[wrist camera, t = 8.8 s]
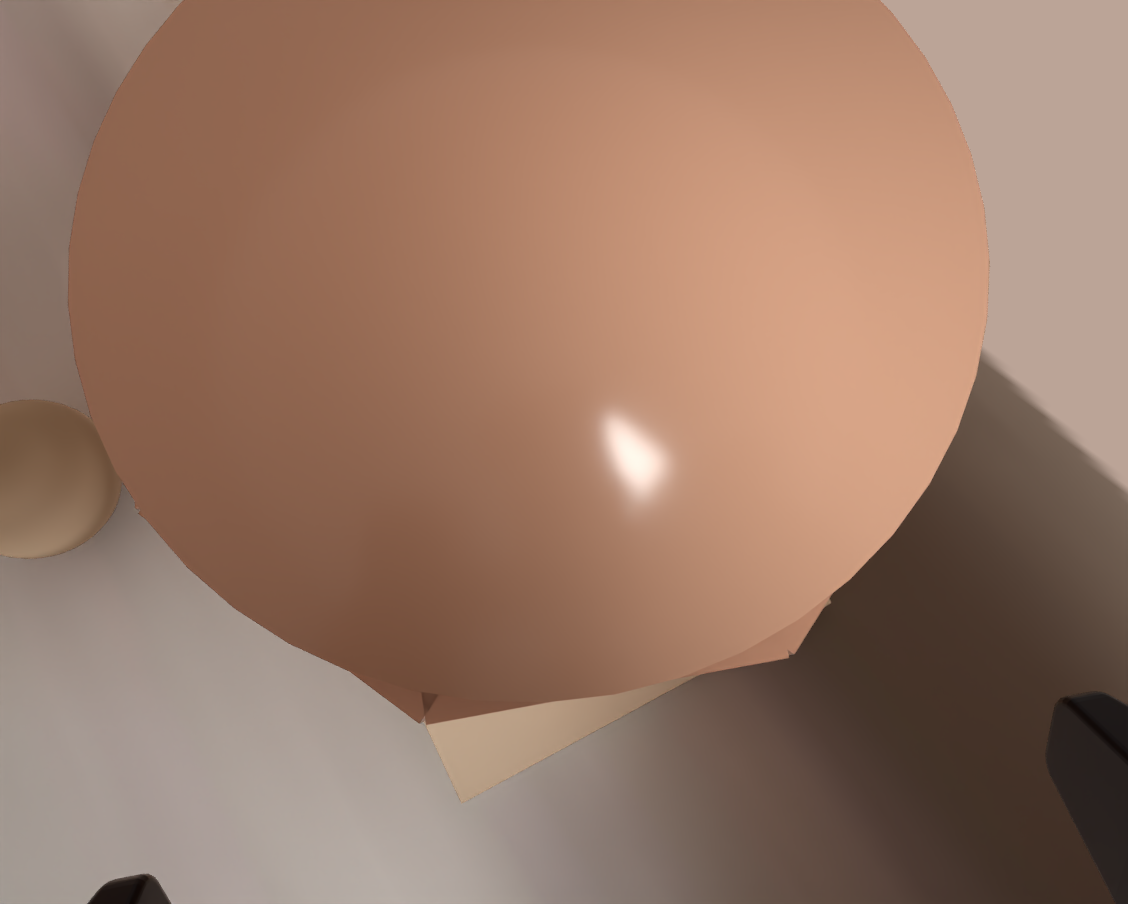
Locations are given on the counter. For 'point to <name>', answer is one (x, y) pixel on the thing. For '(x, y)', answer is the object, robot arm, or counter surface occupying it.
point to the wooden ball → (51, 479)
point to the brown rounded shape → (528, 325)
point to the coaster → (527, 735)
